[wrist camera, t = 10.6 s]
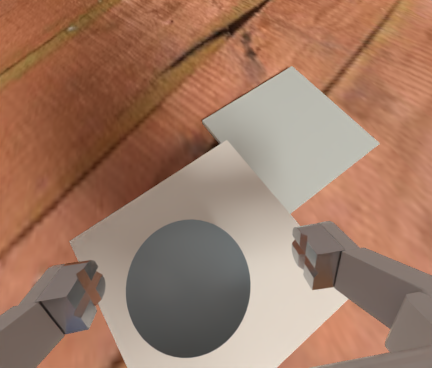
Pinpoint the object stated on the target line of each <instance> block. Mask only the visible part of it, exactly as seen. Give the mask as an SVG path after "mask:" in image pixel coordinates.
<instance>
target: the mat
mask: <svg viewBox="0 0 432 368" xmlns="http://www.w3.org/2000/svg"><path fill="white" fill-rule="evenodd" d="M202 124H203V125H204V126H205V127H206V128H207V130H208V131H209V132H210V133H211V134H212V136H213V137H214V138H215V139H216V141H217V142H218V143H219V144H221V143H223V142H224V141H226V140H228V142H229V143H230V144H231V145H232V146H233V147H234V149H235V150H236V151H237V152H238V153H239V155H240V156H241V157H242V158H243V159H244V160H245V162H246V163H247V164H248V165H249V166H250V167H251V169H252V170H253V171H254V172H255V173H256V174H257V176H258V177H259V178H260V179H261V180H262V182H263V183H264V184H265V185H266V186H267V187H268V189H269V190H270V191H271V192H272V193H273V194H274V196H275V197H276V198H277V199H278V200H279V201H280V203H281V204H282V205H283V206H284V207H285V209H286V210H287V211H288V212H289V213H290V214H291V213H292V212H293V211H294V210H296V209H297V208H298V207H300V206H301V205H302V204H303V203H305V202H306V201H307V200H308V199H310V198H311V197H312V196H314V195H315V194H316V193H317V192H319V191H320V190H321V189H322V188H324V187H325V186H326V185H328V184H329V183H330V182H331V181H333V180H334V179H335V178H337V177H338V176H339V175H340V174H342V173H343V172H344V171H345V170H347V169H348V168H349V167H351V166H352V165H353V164H354V163H356V162H357V161H358V160H359V159H361V158H362V157H363V156H365V155H366V154H367V153H368V152H370V151H371V150H372V149H374V148H375V147H376V146H377V145H379V144H380V143H379V142H378V141H377V140H375V139H374V138H373V137H372V136H371V135H370V134H369V133H367V132H366V131H365V130H364V129H363V128H362V127H361V126H359V125H358V124H357V123H356V122H355V121H354V120H353V119H352V118H350V117H349V116H348V115H347V114H346V113H345V112H344V111H342V110H341V109H340V108H339V107H338V106H337V105H336V104H334V103H333V102H332V101H331V100H330V99H329V98H328V97H327V96H325V95H324V94H323V93H322V92H321V91H320V90H319V89H317V88H316V87H315V86H314V85H313V84H312V83H311V82H309V81H308V80H307V79H306V78H305V77H304V76H303V75H302V74H300V73H299V72H298V71H297V70H296V69H295V68H294V67H292V66H291V67H290V68H288V69H286V70H285V71H283V72H281V73H280V74H278V75H276V76H275V77H273V78H271V79H270V80H268V81H266V82H265V83H263V84H262V85H260V86H258V87H257V88H255V89H253V90H252V91H250V92H248V93H247V94H245V95H243V96H242V97H240V98H238V99H237V100H235V101H233V102H232V103H230V104H228V105H227V106H225V107H224V108H222V109H220V110H219V111H217V112H215V113H214V114H212V115H210V116H209V117H207V118H205V119H204V120H202Z"/></svg>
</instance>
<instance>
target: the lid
mask: <svg viewBox="0 0 432 368" xmlns="http://www.w3.org/2000/svg"><path fill="white" fill-rule="evenodd" d="M299 226H300V225H299V224H298V223H297V221H296V220H295V219H294V218H293V217H292V216H291V214H290V213H289V212H288V211H287V210H286V209H285V207H284V206H283V205H282V204H281V203H280V201H279V200H278V199H277V198H276V197H275V196H274V194H273V193H272V192H271V191H270V190H269V189H268V187H267V186H266V185H265V184H264V183H263V182H262V180H261V179H260V178H259V177H258V176H257V174H256V173H255V172H254V171H253V170H252V169H251V167H250V166H249V165H248V164H247V163H246V162H245V160H244V159H243V158H242V157H241V156H240V155H239V153H238V152H237V151H236V150H235V149H234V147H233V146H232V145H231V144H230V143H229V142H228V140H226V141H224V142H223V143H221V144H220V145H218V146H216V147H215V148H213V149H212V150H210V151H209V152H207V153H206V154H204V155H202V156H201V157H199V158H198V159H196V160H195V161H193V162H192V163H190V164H188V165H187V166H185V167H184V168H182V169H181V170H179V171H178V172H176V173H175V174H173V175H171V176H170V177H168V178H167V179H165V180H164V181H162V182H161V183H159V184H157V185H156V186H154V187H153V188H151V189H150V190H148V191H147V192H145V193H143V194H142V195H140V196H139V197H137V198H136V199H134V200H133V201H131V202H130V203H128V204H126V205H125V206H123V207H122V208H120V209H119V210H117V211H116V212H114V213H112V214H111V215H109V216H108V217H106V218H105V219H103V220H102V221H100V222H98V223H97V224H95V225H94V226H92V227H91V228H89V229H88V230H86V231H84V232H83V233H81V234H80V235H78V236H77V237H75V238H74V239H72V240H71V241H69V242H70V244H71V246H72V248H73V250H74V253H75V255H76V257H77V259H78V261H79V262H81V261H88V260H93V261H95V262H96V264H97V265H98V269H97V272H99V273H101V274H102V275H103V277H104V279H105V284H106V286H105V293H104V295H103V298H102V300H101V301H100V302H99V303H98V305H99V307H100V309H101V311H102V313H103V316H104V318H105V320H106V322H107V324H108V326H109V329H110V331H111V333H112V335H113V337H114V339H115V342H116V344H117V346H118V348H119V350H120V352H121V355H122V357H123V359H124V361H125V363H126V366H127V368H277V367H278V366H279V365H280V364H281V363H282V362H283V361H284V360H285V359H286V358H287V357H288V356H289V355H290V354H291V353H292V352H294V351H295V350H296V349H297V348H298V347H299V346H300V345H301V344H302V343H303V342H304V341H305V340H306V339H307V338H308V337H309V336H310V335H311V334H312V333H313V332H314V331H315V330H317V329H318V328H319V327H320V326H321V325H322V324H323V323H324V322H325V321H326V320H327V319H328V318H329V317H330V316H331V315H332V314H333V313H334V312H335V311H336V310H337V309H339V308H340V307H341V306H342V305H343V304H344V303H345V302H346V301H347V300H348V298H347V297H346V296H344V295H343V294H341V293H340V292H339V291H337V290H336V289H334V287H331V288H324V289H318V290H312V289H311V288H310V286H309V284H308V283H307V281H306V279H305V278H304V276H303V273H304V270H303V269H302V268H300V267H298V266H297V264H296V262H295V260H294V257H293V254H292V242H293V241H294V240H295V238H294V237H293V235H292V232H293V228H294V227H299Z"/></svg>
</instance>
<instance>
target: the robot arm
mask: <svg viewBox="0 0 432 368" xmlns="http://www.w3.org/2000/svg"><path fill="white" fill-rule="evenodd" d="M292 235H293V237H294V238H295V240H294V241H293V242H292V254H293V257H294V260H295V262H296V264H297V266H298V267H300V268H302V269H303V270H304V273H303V276H304V278H305V279H306V281H307V283H308V284H309V286H310V288H311V289H312V290H318V289H324V288H331V287H334V289H336V290H337V291H339V292H340V293H341V294H343V295H344V296H346V297H347V298H348V299H350V300H351V301H352V302H354V303H355V304H357V305H358V306H359V307H361V308H362V309H363V310H365V311H366V312H368V313H369V314H370V315H372V316H373V317H375V318H376V319H377V320H379V321H380V322H381V323H383V324H384V325H386V326H387V327H388V328H390V331H389V334H388V336H387V338H386V341H385V346H386V348H387V349H388V350H389V353H384V354H379V355H374V356H368V357H363V358H358V359H353V360H347V361H342V362H337V363H332V364H326V365H321V366H316V367H311V368H432V276H431V275H429V274H427V273H424V272H422V271H419V270H417V269H415V268H412V267H410V266H407V265H405V264H403V263H400V262H398V261H395V260H393V259H390V258H388V257H386V256H383V255H381V254H378V253H376V252H374V251H371V250H369V249H366V248H359V247H358V246H357V245H356V244H355V243H354V242H353V241H352V240H351V239H350V238H349V237H348V236H347V235H346V234H345V233H344V232H343V231H342V230H341V229H339V228H338V227H337V226H336V225H335V224H334V223H333V222H331V221H326V222H321V223H317V224H311V225H305V226H299V227H294V228H293V232H292ZM97 269H98V265H97V264H96V262H95V261H93V260H88V261H81V262H74V263H66V264H61V265H54V266H52V267H50V268H48V269H47V270H46V272H45V273H44V274H43V275H42V277H41V278H40V279H39V280H38V281H37V283H36V284H35V285H34V286H33V288H32V289H31V290H30V291H29V293H28V294H27V295H26V296H25V297H24V299H23V300H22V301H21V302H20V304H19V305H18V306H13V307H12V308H10V309H9V310H8V311H6V312H5V313H3V314H2V315H0V368H36V367H37V366H38V365H39V364H40V363H41V361H42V360H43V359H44V358H45V357H46V356H47V355H48V354H49V353H50V351H51V350H52V349H53V348H54V347H55V346H56V345H57V344H58V343H59V341H60V340H61V339H62V338H63V337H64V336H65V335H64V334H69V333H74V332H78V331H83V330H88V329H89V328H90V325H91V323H92V321H93V319H94V316H95V314H96V312H97V310H96V307H95V306H96V305H97V304H98V303H99V302H100V301H101V300H102V298H103V295H104V293H105V286H106V284H105V279H104V277H103V275H102V274H101V273H99V272H97Z"/></svg>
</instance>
